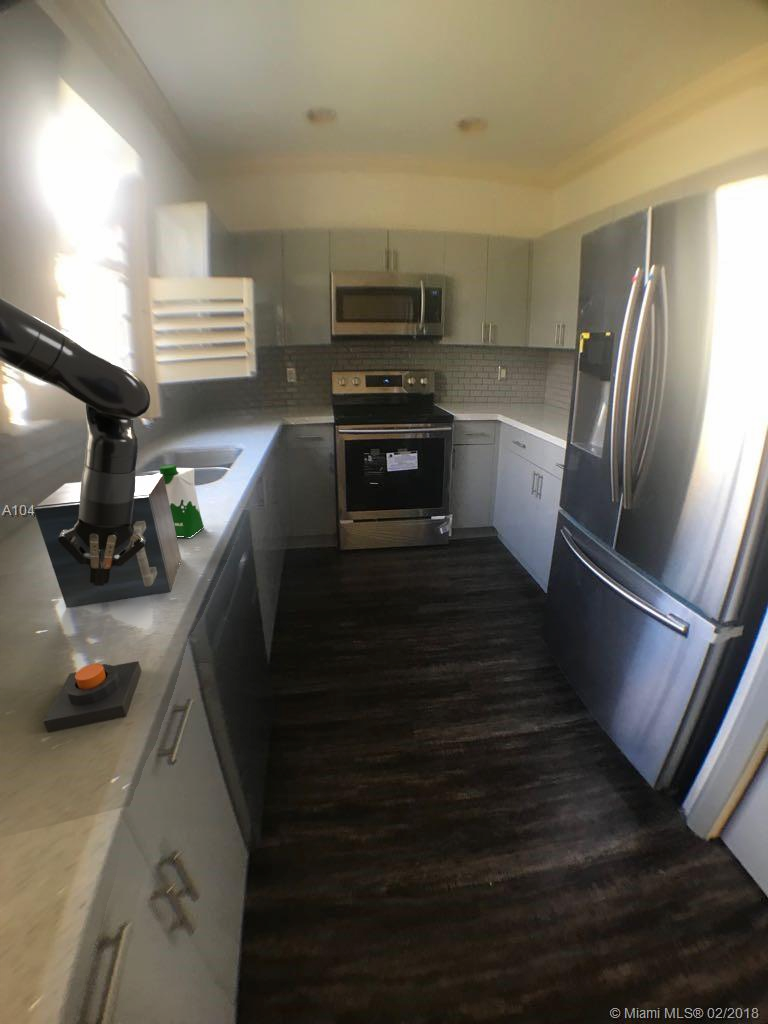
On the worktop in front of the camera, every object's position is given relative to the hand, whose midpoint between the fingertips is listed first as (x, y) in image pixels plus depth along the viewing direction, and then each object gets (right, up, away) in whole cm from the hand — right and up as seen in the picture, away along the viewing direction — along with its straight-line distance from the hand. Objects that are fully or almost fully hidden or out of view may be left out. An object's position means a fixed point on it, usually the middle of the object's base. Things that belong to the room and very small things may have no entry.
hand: (99, 583), depth 79 cm
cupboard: (-8, -3, +25) cm, 26 cm away
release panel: (+6, -16, -10) cm, 20 cm away
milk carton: (-6, +6, +49) cm, 50 cm away
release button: (+6, -13, -11) cm, 18 cm away
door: (-6, -7, +15) cm, 17 cm away
